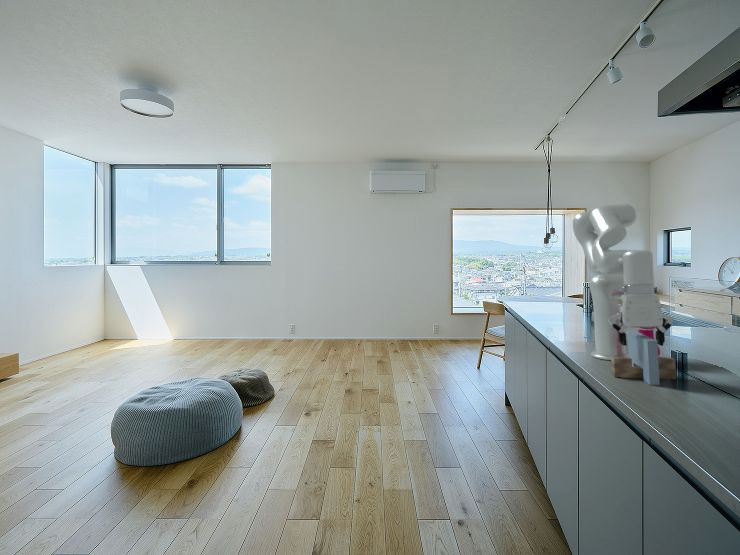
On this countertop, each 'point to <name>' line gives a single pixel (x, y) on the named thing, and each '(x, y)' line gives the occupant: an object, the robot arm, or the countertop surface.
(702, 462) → the countertop surface
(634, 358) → the light blue flat board
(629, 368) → the brown wooden u-shaped block
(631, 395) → the countertop surface
